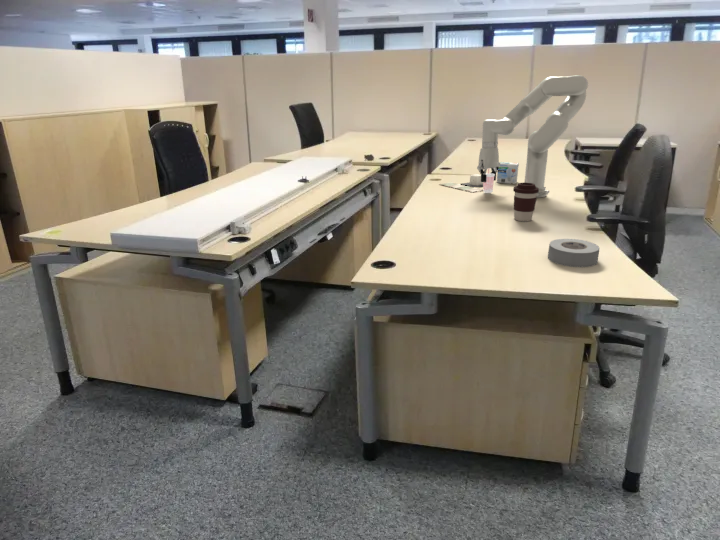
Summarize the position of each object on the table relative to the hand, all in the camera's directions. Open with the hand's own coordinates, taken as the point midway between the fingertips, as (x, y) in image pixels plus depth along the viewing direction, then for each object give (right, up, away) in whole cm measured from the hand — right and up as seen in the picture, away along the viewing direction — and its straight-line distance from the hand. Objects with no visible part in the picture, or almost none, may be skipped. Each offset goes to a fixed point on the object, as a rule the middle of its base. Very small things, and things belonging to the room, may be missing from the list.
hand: (488, 180), depth 271 cm
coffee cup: (+3, -24, -48) cm, 54 cm away
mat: (-1, +2, +23) cm, 24 cm away
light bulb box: (+18, +4, +31) cm, 36 cm away
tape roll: (+4, -42, -96) cm, 105 cm away
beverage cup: (0, -6, +2) cm, 6 cm away
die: (-1, +2, +23) cm, 23 cm away
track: (-11, -1, +17) cm, 20 cm away
